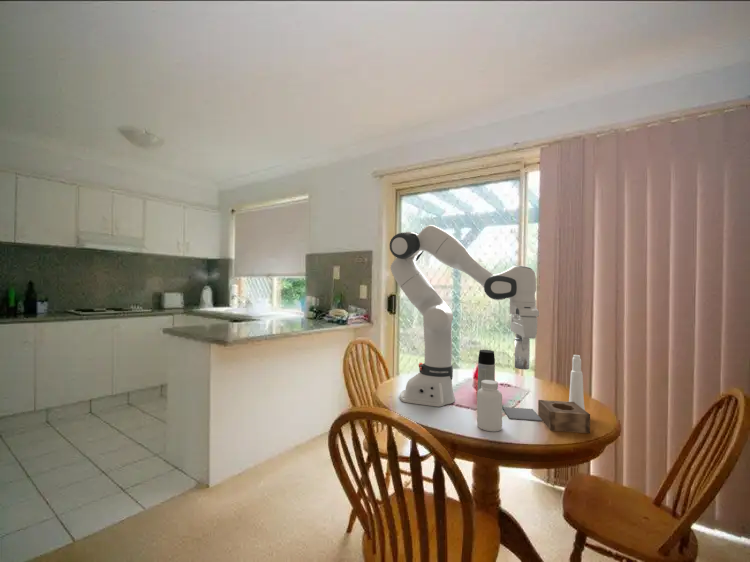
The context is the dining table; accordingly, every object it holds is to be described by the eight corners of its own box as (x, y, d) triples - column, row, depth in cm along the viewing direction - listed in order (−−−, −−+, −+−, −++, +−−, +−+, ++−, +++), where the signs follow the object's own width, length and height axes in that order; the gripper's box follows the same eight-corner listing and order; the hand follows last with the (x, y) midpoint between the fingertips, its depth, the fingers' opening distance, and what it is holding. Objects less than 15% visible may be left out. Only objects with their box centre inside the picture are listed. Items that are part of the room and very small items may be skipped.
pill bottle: (477, 420, 118) (478, 377, 118) (502, 424, 115) (503, 380, 115) (475, 429, 110) (476, 383, 111) (501, 434, 107) (502, 386, 107)
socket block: (550, 430, 111) (550, 411, 111) (538, 416, 123) (538, 399, 123) (590, 433, 109) (590, 414, 109) (573, 418, 121) (573, 402, 121)
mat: (509, 418, 120) (509, 417, 120) (502, 407, 131) (502, 406, 131) (542, 421, 118) (542, 420, 118) (532, 409, 129) (532, 408, 129)
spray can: (494, 397, 143) (494, 350, 143) (494, 402, 136) (495, 353, 137) (477, 395, 145) (478, 348, 145) (477, 400, 138) (477, 351, 139)
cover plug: (516, 369, 123) (516, 339, 123) (513, 365, 127) (513, 337, 128) (531, 369, 122) (531, 339, 122) (527, 366, 127) (527, 337, 127)
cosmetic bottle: (570, 410, 129) (570, 352, 129) (588, 415, 124) (588, 355, 125) (564, 414, 125) (564, 354, 125) (582, 419, 120) (583, 357, 120)
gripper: (506, 307, 136) (506, 342, 135) (521, 311, 115) (520, 352, 115) (523, 308, 135) (522, 342, 135) (540, 312, 115) (540, 352, 114)
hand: (522, 347), depth 125 cm, fingers closed on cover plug, 5 cm apart
